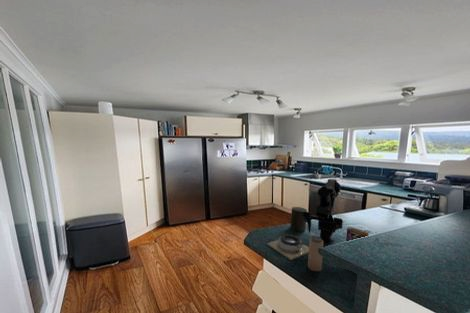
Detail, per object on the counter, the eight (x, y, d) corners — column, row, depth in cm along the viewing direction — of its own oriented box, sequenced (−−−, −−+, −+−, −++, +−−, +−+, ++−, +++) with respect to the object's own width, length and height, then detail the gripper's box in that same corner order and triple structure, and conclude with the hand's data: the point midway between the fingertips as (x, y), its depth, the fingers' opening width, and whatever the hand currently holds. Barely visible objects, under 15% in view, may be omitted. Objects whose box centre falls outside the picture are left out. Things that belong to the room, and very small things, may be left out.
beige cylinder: (313, 262, 100) (315, 234, 99) (324, 269, 95) (326, 239, 94) (304, 265, 97) (306, 237, 96) (316, 273, 92) (318, 242, 91)
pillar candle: (292, 231, 134) (294, 209, 132) (288, 225, 143) (290, 204, 142) (307, 232, 134) (309, 209, 132) (302, 226, 143) (304, 205, 142)
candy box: (366, 261, 102) (369, 231, 101) (364, 265, 99) (367, 234, 98) (346, 254, 109) (349, 226, 107) (344, 257, 105) (346, 228, 104)
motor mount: (288, 238, 125) (289, 229, 124) (313, 251, 110) (313, 242, 110) (267, 244, 115) (267, 235, 115) (290, 260, 101) (291, 250, 101)
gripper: (304, 196, 109) (297, 223, 101) (344, 202, 99) (340, 233, 91) (306, 207, 116) (300, 233, 108) (344, 214, 107) (340, 243, 98)
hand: (318, 235), depth 101 cm, fingers open, 9 cm apart
